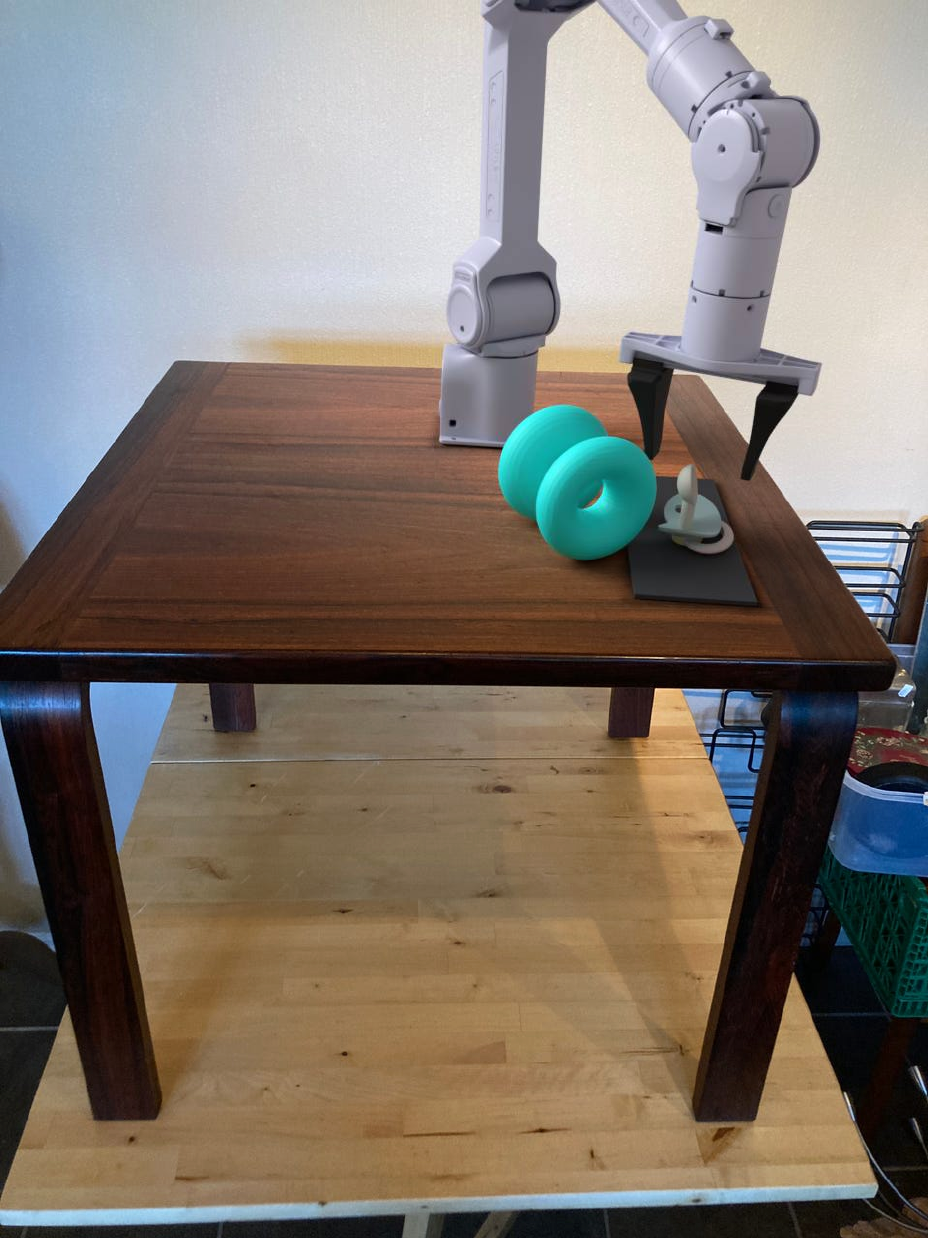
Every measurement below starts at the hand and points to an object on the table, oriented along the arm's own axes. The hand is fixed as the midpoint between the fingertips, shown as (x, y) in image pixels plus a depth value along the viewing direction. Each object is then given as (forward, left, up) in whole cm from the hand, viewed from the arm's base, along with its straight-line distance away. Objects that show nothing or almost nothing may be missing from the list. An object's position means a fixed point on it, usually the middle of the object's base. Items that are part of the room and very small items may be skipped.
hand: (698, 465), depth 77 cm
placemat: (0, +1, -7) cm, 7 cm away
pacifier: (+1, 0, -6) cm, 6 cm away
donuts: (-10, -1, -7) cm, 12 cm away
